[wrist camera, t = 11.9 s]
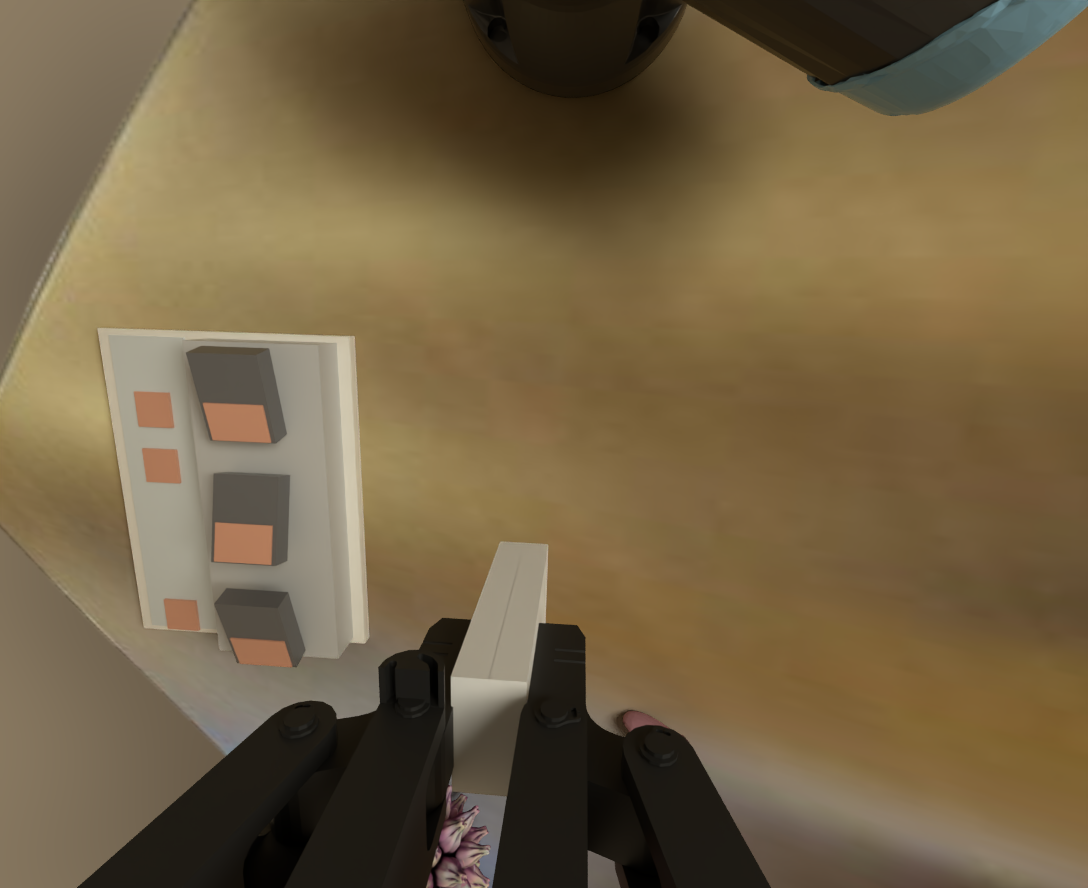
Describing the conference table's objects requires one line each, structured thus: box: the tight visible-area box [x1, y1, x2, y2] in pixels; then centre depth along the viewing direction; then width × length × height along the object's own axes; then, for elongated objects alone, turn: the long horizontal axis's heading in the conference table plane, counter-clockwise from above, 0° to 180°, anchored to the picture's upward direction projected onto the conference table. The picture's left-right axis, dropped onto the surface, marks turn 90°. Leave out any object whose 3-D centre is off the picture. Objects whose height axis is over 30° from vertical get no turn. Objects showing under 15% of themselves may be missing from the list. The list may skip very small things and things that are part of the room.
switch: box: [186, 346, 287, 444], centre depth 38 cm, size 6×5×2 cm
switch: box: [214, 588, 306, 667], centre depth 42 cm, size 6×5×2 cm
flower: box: [426, 785, 490, 888], centre depth 46 cm, size 12×12×12 cm
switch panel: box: [97, 327, 369, 659], centre depth 44 cm, size 26×20×4 cm
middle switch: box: [211, 472, 290, 566], centre depth 40 cm, size 6×5×2 cm
